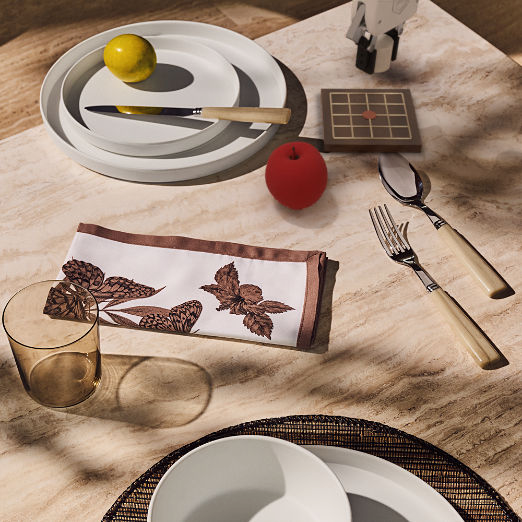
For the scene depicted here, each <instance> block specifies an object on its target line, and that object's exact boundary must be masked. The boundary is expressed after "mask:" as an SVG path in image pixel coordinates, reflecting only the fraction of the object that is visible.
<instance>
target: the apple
mask: <svg viewBox="0 0 522 522" xmlns="http://www.w3.org/2000/svg"><path fill="white" fill-rule="evenodd" d="M328 173H329V172H328V166H327V163H326V161H325V159H324V157H323V155H322V153H321V152H320V151H319V149H318V148H316V146H314V145H312V144H311V143H309V142H304V141H291V142H287V143H283V144H281V145H279V146H278V147H276V148H274V149H273V151H272V152H271V154H270V155H269V157H268V159H267V162H266V165H265V171H264V181H265V185H266V188H267V190H268V192H269V193H270V195H271V196H272V197H273V198H274V199H275V200H276V201H277V202H278V203H279V204H280V205H282V206H283V207H285V208H288V209H290V210H294V211H300V210H304V209H309V208H310V207H312V206H313V205H315V204H316V203H317V202H318V201H319V200H320V198H322V196H323V195H324V193H325V191H326V189H327V186H328V180H329V174H328Z"/></svg>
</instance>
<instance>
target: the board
mask: <svg viewBox="0 0 522 522" xmlns="http://www.w3.org/2000/svg"><path fill="white" fill-rule="evenodd" d="M320 109H321V110H320V111H321V127H322V128H321V129H322V141H323V144H322V145H323V152H324V153H421V152H422V147H423V143H422V139H421V135H420V134H421V133H420V130H419V123H418V119H417V115H416V110H415V106H414V101H413V95H412V92H411V88H320Z"/></svg>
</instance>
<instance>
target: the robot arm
mask: <svg viewBox="0 0 522 522" xmlns="http://www.w3.org/2000/svg"><path fill="white" fill-rule="evenodd" d="M419 1H420V0H352V1H351V11H350V14H351V15H350V20H351V23H350V25H349V27H348V29H347V31H346V34H345V38H346V39H348V40H350V41H352V42H354V44H355V45H356V46H357V47H356V54H355V55H356V56H355V57H356V58H355V68H356V69H358V70H359V71H362V72H364V73H365V74H367V75H370V76H371V75H373V74H375V73H374V69H375V62H376V55H377V50H376V49H374V48H375V45H376V41H377V37H378V36H379V35H382V34H386V35H388V36H390V37H391V38H392V39H393V41H394V43H393V50H392V56H391V62H395V61H396V60H397V58H398V57H397V56H398V50H399V44H400V38H401V35H402V34H403V33H404V25H405V23H406V22H407V21H408V20H411V18H413V17H414V16H415V15H416V13H417V12H418V7H419V3H420V2H419ZM366 33H368V34H370V38H369V40H368V39H367V38H366Z"/></svg>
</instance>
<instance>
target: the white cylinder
mask: <svg viewBox="0 0 522 522" xmlns="http://www.w3.org/2000/svg"><path fill="white" fill-rule="evenodd" d="M365 37H366V38H367V39H368V40H369V38H370V33H368V34H367V35H365ZM393 43H394V41H393V39H392V38H391V37H390V36H388V35H386V34H382V35H379V36H378V37H377V41H376V45H375V48H374V49H376V50H377V55H376V62H375V69H374V73H373V74H375V73H376V74H377V73H384V72H386V71H388V70H389V69H390V67H391V62H392V61H391V56H392V50H393Z"/></svg>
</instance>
